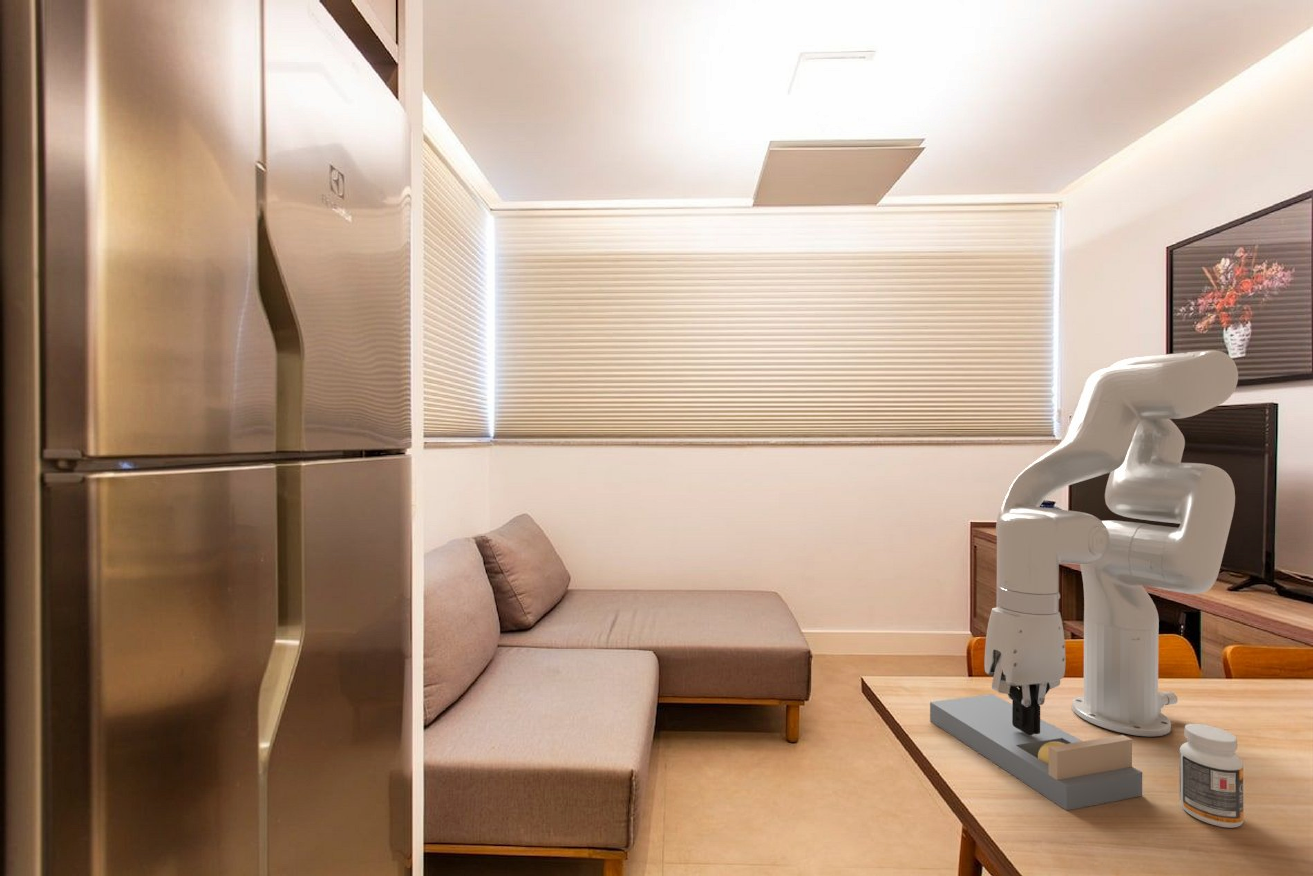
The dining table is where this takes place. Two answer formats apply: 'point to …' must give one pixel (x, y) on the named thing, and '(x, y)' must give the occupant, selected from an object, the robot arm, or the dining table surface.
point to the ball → (1047, 751)
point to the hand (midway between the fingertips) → (1026, 730)
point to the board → (1073, 767)
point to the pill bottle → (1211, 776)
